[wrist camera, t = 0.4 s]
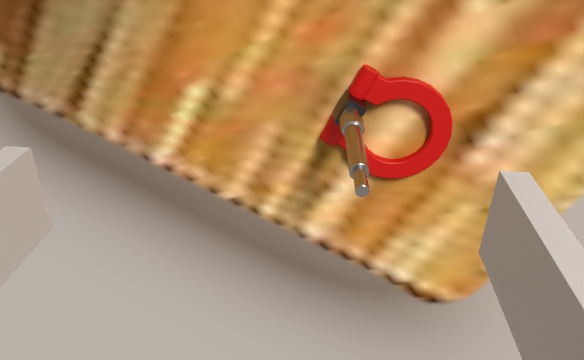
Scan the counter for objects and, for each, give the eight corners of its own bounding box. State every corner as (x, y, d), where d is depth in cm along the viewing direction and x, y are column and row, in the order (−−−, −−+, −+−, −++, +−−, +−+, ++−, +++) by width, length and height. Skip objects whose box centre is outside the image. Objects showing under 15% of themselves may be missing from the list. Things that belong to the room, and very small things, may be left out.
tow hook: (471, 105, 40) (368, 50, 38) (536, 197, 29) (392, 123, 26) (409, 187, 45) (313, 140, 43) (443, 295, 33) (313, 239, 31)
